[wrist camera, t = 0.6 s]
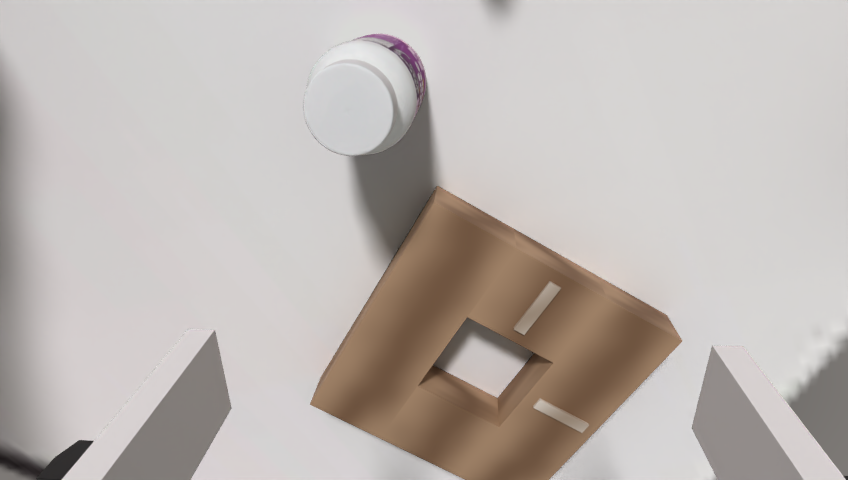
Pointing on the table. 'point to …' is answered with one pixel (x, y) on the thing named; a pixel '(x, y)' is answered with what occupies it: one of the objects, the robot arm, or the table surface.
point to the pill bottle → (364, 94)
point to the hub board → (506, 315)
